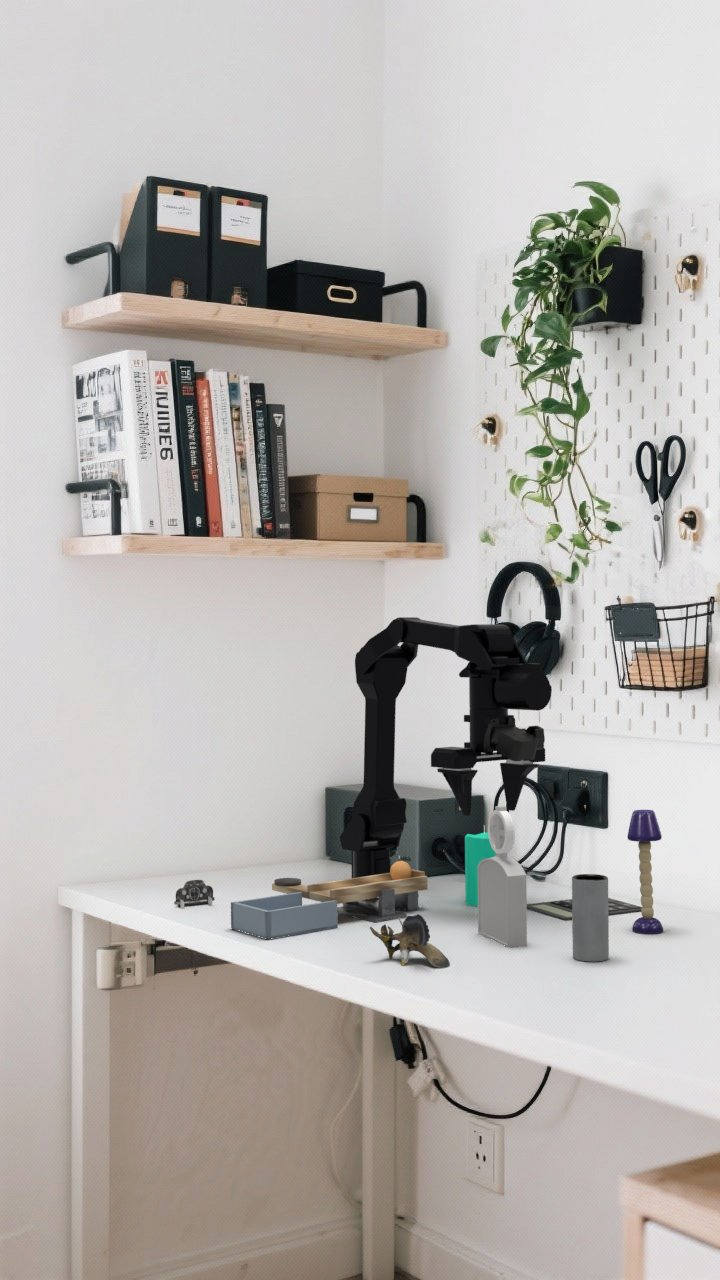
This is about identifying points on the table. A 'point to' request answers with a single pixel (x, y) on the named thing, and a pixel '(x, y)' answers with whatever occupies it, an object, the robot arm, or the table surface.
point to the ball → (400, 870)
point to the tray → (282, 916)
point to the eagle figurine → (412, 941)
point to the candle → (475, 863)
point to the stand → (381, 906)
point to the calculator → (564, 908)
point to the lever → (352, 887)
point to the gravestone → (502, 886)
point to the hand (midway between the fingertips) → (489, 813)
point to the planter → (590, 917)
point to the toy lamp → (645, 867)
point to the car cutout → (194, 894)
